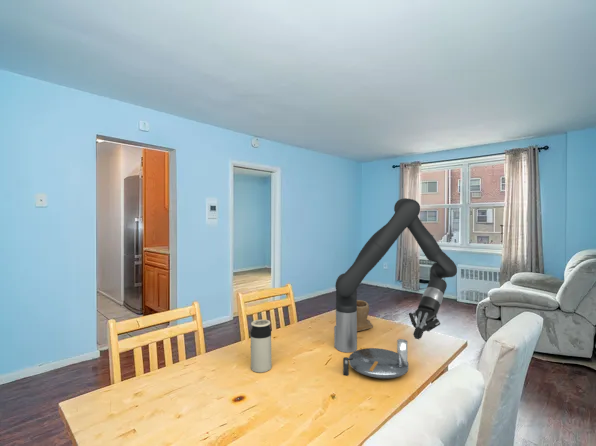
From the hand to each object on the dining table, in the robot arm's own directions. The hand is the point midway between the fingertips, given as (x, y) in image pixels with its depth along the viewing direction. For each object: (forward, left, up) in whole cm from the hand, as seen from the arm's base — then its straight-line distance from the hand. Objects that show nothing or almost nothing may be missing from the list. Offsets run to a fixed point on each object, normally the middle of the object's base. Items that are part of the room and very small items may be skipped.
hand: (416, 337), depth 124 cm
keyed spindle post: (-9, -16, -12) cm, 22 cm away
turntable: (-9, -12, -9) cm, 18 cm away
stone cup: (-41, +18, -12) cm, 46 cm away
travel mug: (-40, -45, -12) cm, 62 cm away
